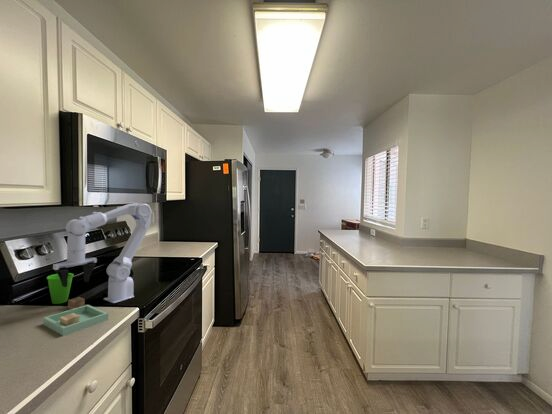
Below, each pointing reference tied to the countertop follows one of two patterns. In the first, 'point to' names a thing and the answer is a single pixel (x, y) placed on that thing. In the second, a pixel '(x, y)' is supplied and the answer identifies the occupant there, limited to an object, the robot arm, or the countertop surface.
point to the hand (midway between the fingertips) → (75, 283)
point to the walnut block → (76, 303)
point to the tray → (86, 319)
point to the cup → (59, 288)
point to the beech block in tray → (69, 319)
